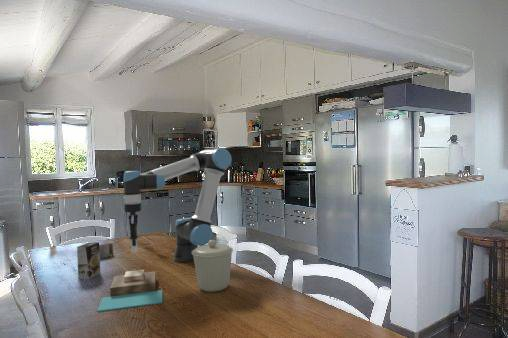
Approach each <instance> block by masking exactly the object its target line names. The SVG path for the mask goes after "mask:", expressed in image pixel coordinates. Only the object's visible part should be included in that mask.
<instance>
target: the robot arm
mask: <svg viewBox="0 0 508 338" xmlns="http://www.w3.org/2000/svg"><path fill="white" fill-rule="evenodd" d="M231 164H232V155H231V153H230V152H229V150H228V149H227V148H224V147H214V148H205V149H203V150H200V151H199V152H196V153H193V154H191V155H190V157H188V158H187V157H186V158H184V159H181V160H179V161H175V162H173V163H170V164H167V165H163V166H161V167H158V168H154V169H153V170H152V169H151V170H149V171H146V172H143V173H142V172H141V171H140V170H128V171H127V170H126V171H124V173H123V191H124V192H123V193H124V196H123V197H122V199H124V212H125V213H129V215H128V220H129V221H128V223H129V231H130V237H129V239H128V240H130V248H131V249H130V251H131V253H138V238H139V236H140V235H138V219H139V214H137V213H138V212H141V211H142V203H141V202H142V193H141V191H147V190H160V189H163V188H164V187H165V186H166V181H168V180H171V179H173V178H176V177H180V176H181V175H184V174H187V173H189V172H193V171H196V172H197V171H198V172H199V171H200V170H204V172H205V175H204V177H203V178H204V179H203V182H202V185H201V189H200V192H199V193H200V194H199V197H198V201H197V204H196V209H195V212H194V214H193V216H191V217H185V218H179V219H176V220H175V239H176V240H175V242H176V243H175V244H176V246H175V249H174V250H175V251H174V254H173V260H174V262H177V263H189V262H194V257H193V255H192V251H193V250H194V249H196V248H197V247H199V246H202V245H207V244H208V242H209V241H210V240H212V238H213V229H212V220H211V217H212V216H211V215H212V212H213V208H214V204H215V200H216V196H217V193H218V189H219V185H220V180H221V179H222V178H221V177H222V176H224V175H225V173H226V170H227V169H228V168H229V167H231Z"/></svg>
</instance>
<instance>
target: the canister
mask: <svg viewBox="0 0 508 338" xmlns="http://www.w3.org/2000/svg"><path fill="white" fill-rule="evenodd" d="M233 252H234V248H233V247H231V246H229V245H227V244H222V243H217V241H216V240H215V239H211V240H210V241H209V242H208V243H207V244H205V245H202V246H198V247H197V248H196V249H194V250H193V251H192V255H193V257H194V261H193V263H194V268H195V270H194V271H195V276H196V282H197V285H198V288H199V289H200V290H202V291H204V292H210V293H212V292H214V293H215V292H219V291H222V290H225V289H226V288H227V287H228V286H229V284H230V280H231V279H230V278H231V272H232V271H231V269H232V253H233Z"/></svg>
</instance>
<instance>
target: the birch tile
mask: <svg viewBox="0 0 508 338" xmlns="http://www.w3.org/2000/svg"><path fill="white" fill-rule="evenodd" d="M144 272H145V270H144V269H137V270H127V271H125V273H124V275H125V276H124V282H126V281H134V280H143V278H144Z"/></svg>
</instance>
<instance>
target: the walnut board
mask: <svg viewBox="0 0 508 338" xmlns="http://www.w3.org/2000/svg"><path fill="white" fill-rule="evenodd" d="M156 274H157V273H156V271H144V278H143V280H134V281H126V282H124V276H125V274H118V275H115V276H114V277H113V280H112V283H111V285H110V287H109V291H110V292H109V293H110V294H109V296H110V297H112V296H120V295H128V294H135V293H143V292H151V291H156V283H157V278H156V277H157V276H156Z"/></svg>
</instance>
